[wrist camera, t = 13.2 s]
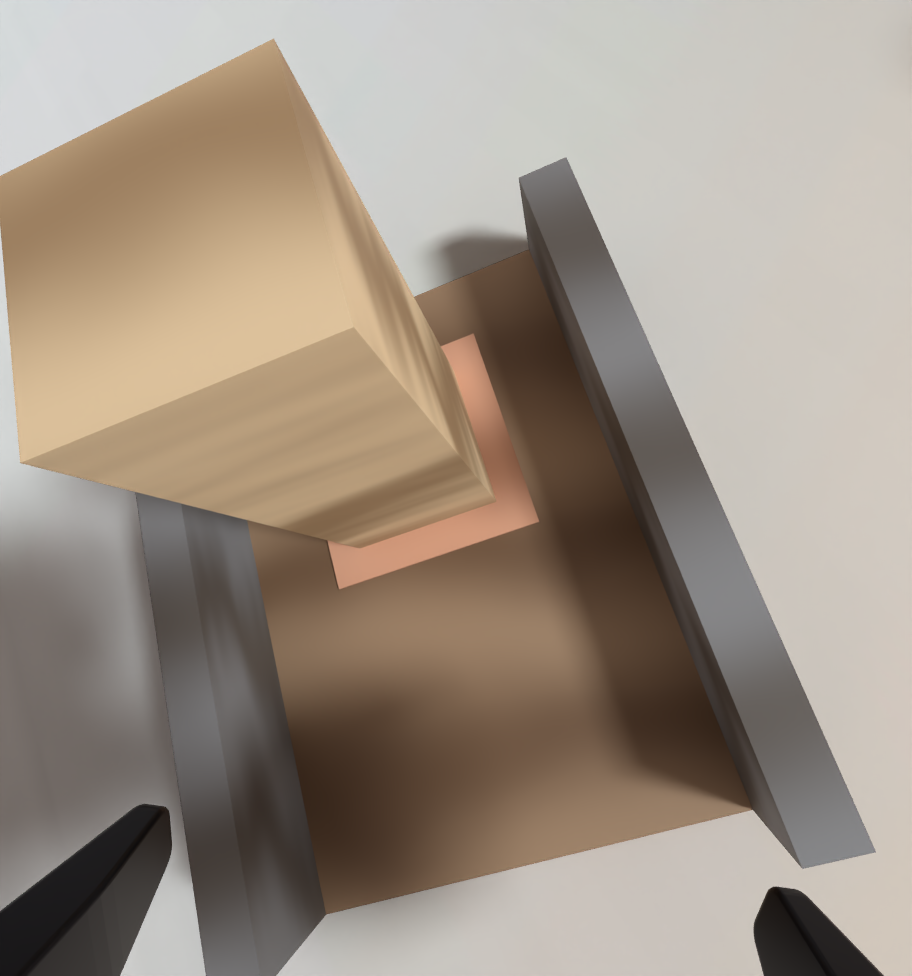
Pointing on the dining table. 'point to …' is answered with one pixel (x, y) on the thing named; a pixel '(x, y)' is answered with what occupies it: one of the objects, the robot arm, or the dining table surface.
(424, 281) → the dining table surface
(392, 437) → the oak block
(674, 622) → the bay
